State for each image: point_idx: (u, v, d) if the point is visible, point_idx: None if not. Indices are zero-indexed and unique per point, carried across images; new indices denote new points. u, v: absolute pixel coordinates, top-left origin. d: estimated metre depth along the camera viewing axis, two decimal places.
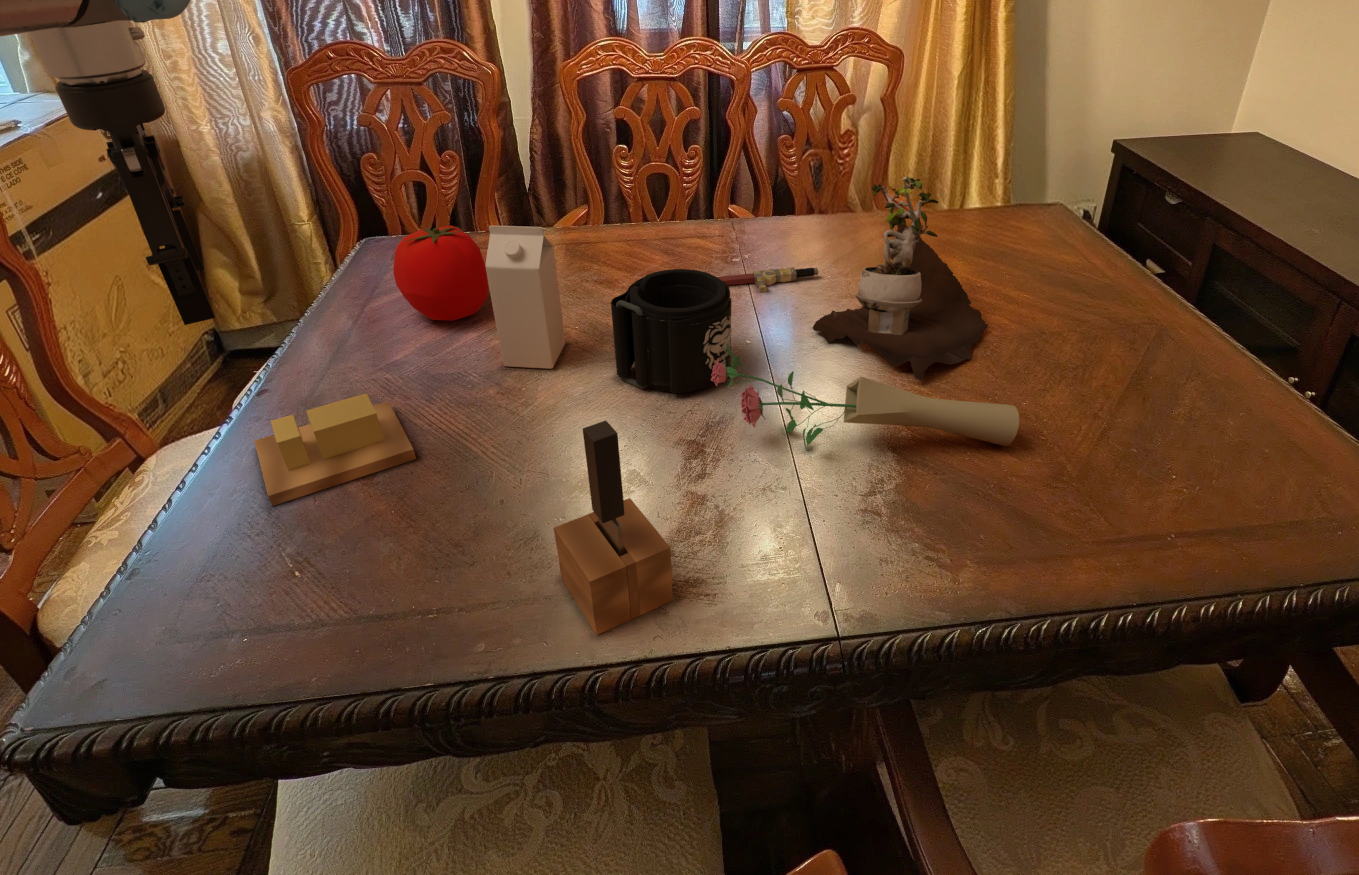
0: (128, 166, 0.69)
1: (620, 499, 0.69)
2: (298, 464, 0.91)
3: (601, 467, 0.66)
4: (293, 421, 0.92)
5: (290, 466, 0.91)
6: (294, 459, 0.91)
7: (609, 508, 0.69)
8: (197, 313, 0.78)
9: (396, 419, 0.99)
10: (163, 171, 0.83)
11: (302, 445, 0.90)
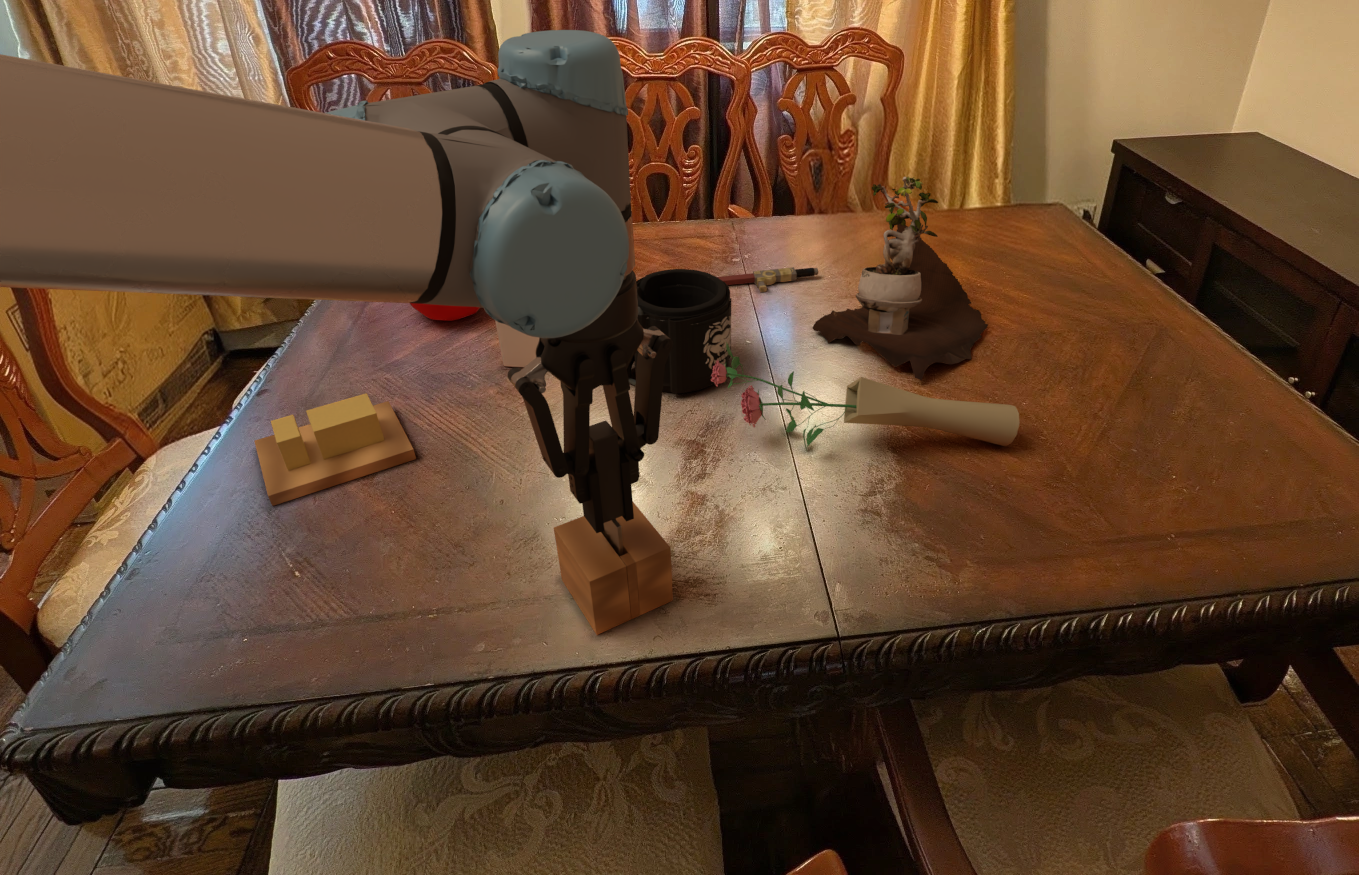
0: None
1: (620, 499, 0.69)
2: (298, 464, 0.91)
3: (601, 467, 0.66)
4: (293, 421, 0.92)
5: (290, 466, 0.91)
6: (294, 459, 0.91)
7: (609, 508, 0.69)
8: None
9: (396, 419, 0.99)
10: None
11: (302, 445, 0.90)
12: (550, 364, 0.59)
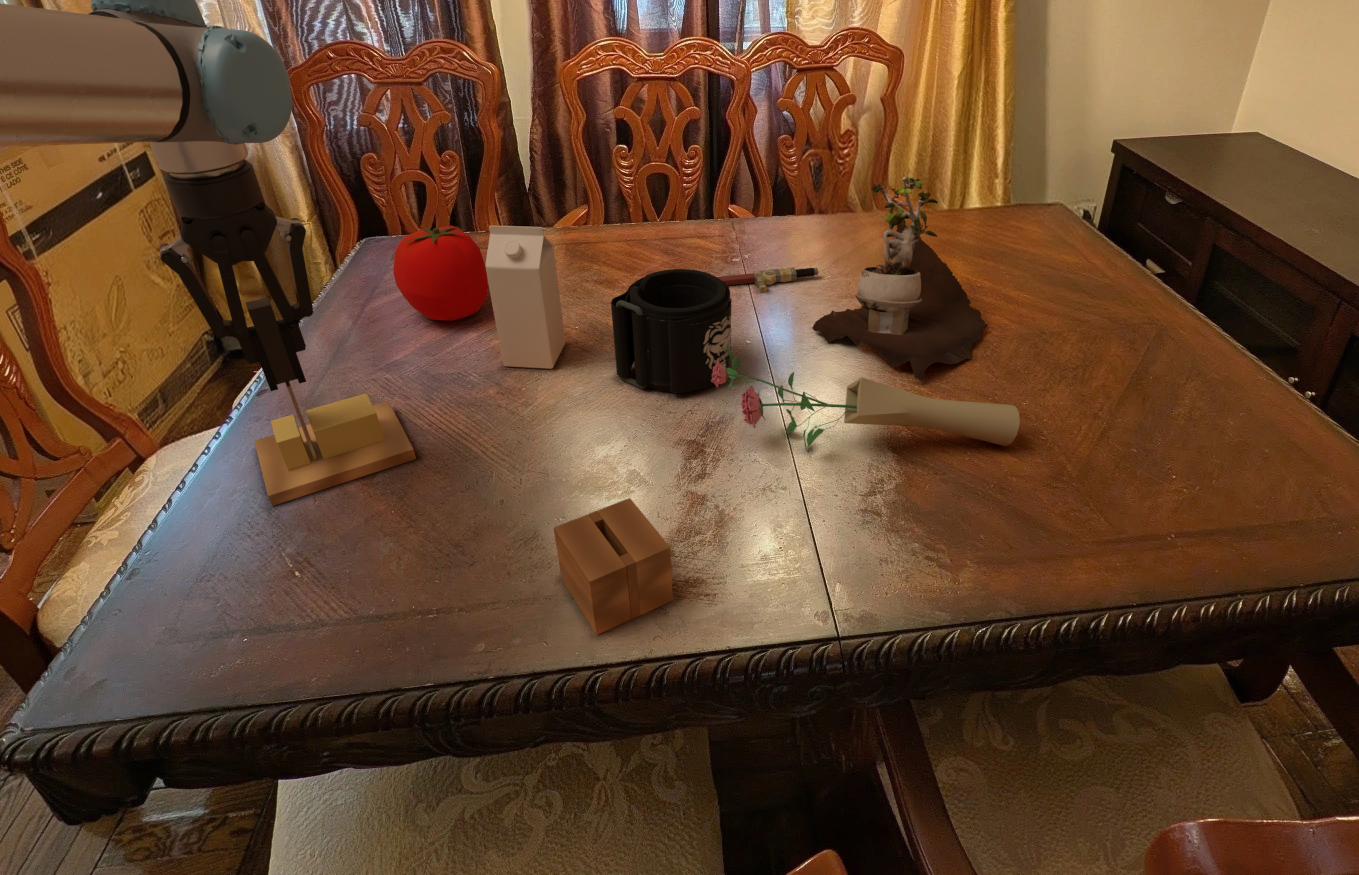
0: None
1: (289, 364, 0.86)
2: (298, 464, 0.91)
3: (262, 334, 0.83)
4: (293, 421, 0.92)
5: (290, 466, 0.91)
6: (294, 459, 0.91)
7: (279, 371, 0.86)
8: None
9: (396, 419, 0.99)
10: None
11: (302, 445, 0.90)
12: (187, 239, 0.76)
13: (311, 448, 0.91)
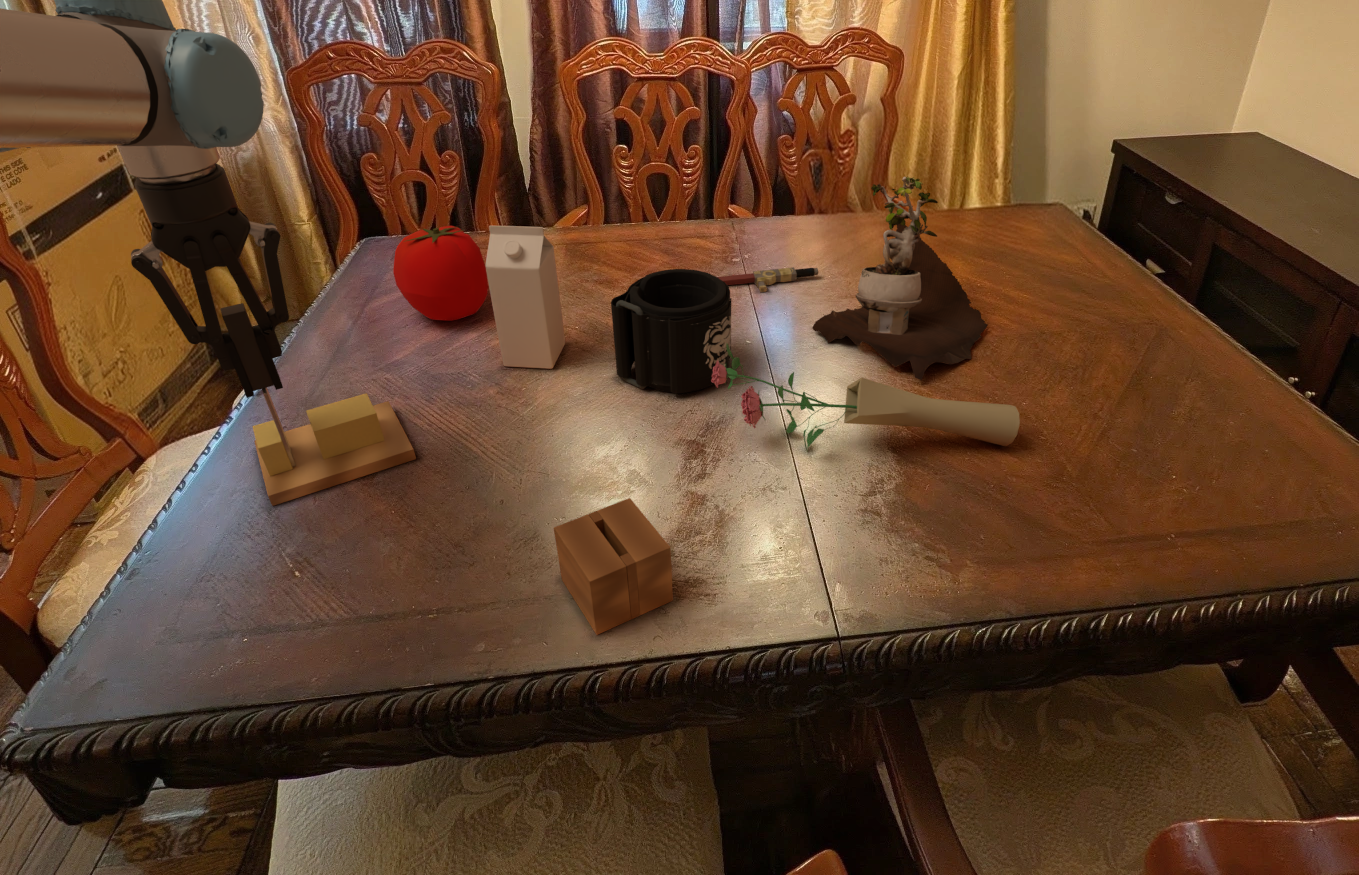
0: None
1: (265, 370, 0.85)
2: (280, 470, 0.90)
3: (237, 340, 0.82)
4: (275, 426, 0.91)
5: (272, 472, 0.90)
6: (276, 465, 0.90)
7: (256, 378, 0.85)
8: (278, 375, 0.87)
9: (396, 419, 0.99)
10: None
11: (284, 450, 0.89)
12: (158, 244, 0.75)
13: (289, 455, 0.90)
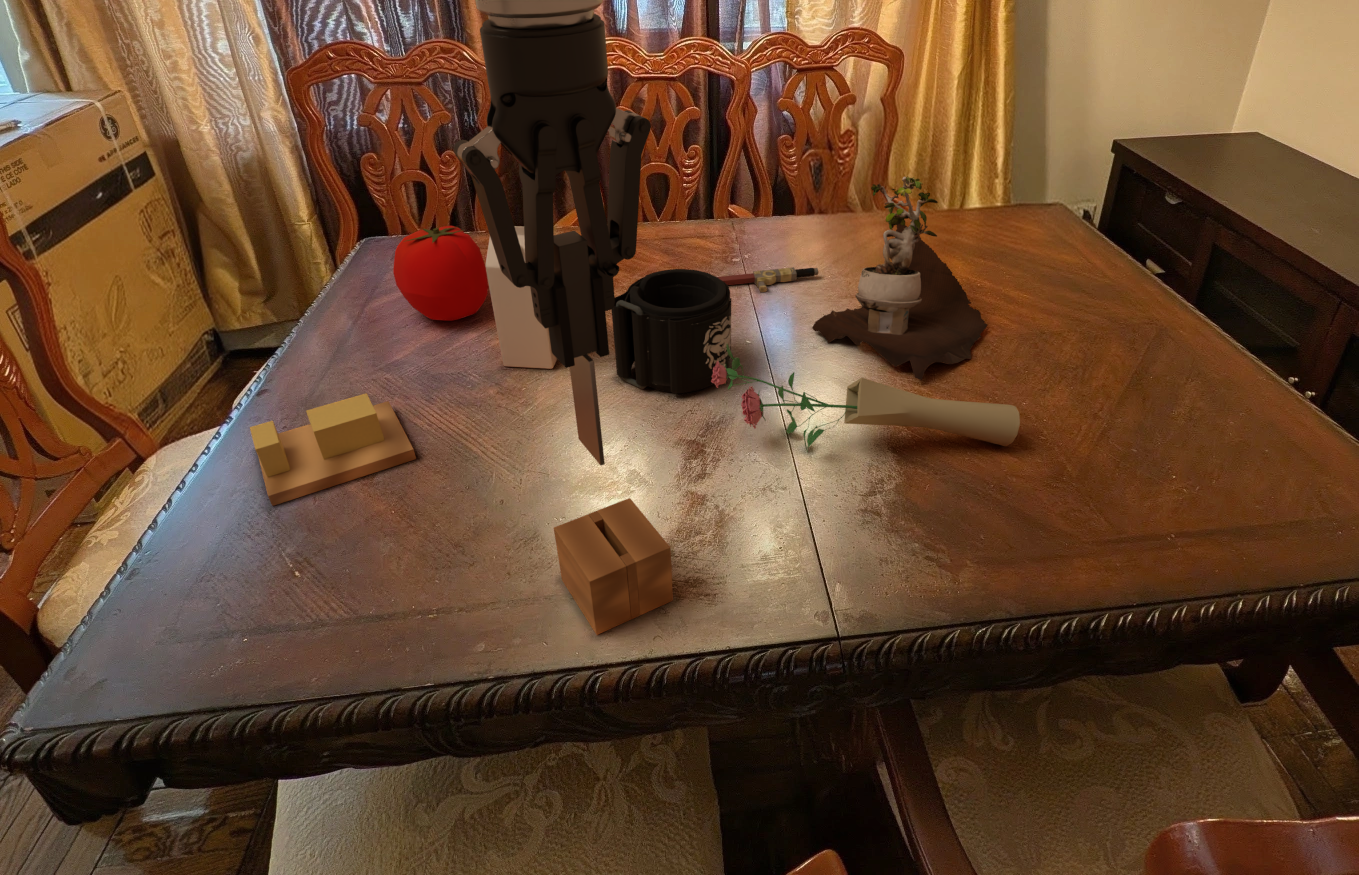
0: None
1: (592, 329, 0.60)
2: (278, 471, 0.90)
3: (569, 283, 0.57)
4: (272, 427, 0.91)
5: (269, 473, 0.90)
6: (273, 466, 0.90)
7: (580, 339, 0.60)
8: None
9: (396, 419, 0.99)
10: None
11: (281, 451, 0.89)
12: (503, 130, 0.49)
13: (600, 449, 0.65)
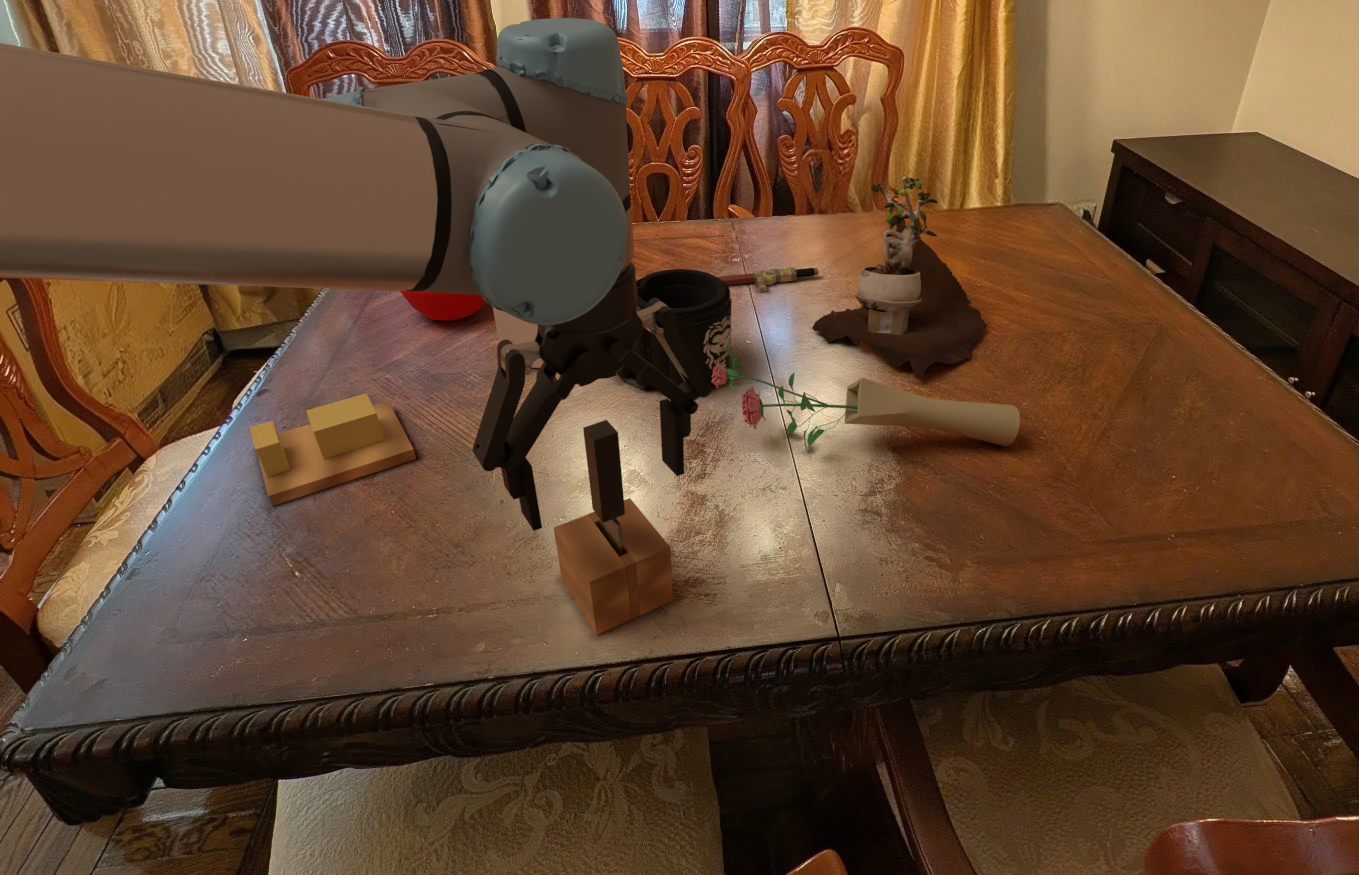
0: None
1: (621, 498, 0.70)
2: (278, 471, 0.90)
3: (602, 467, 0.67)
4: (272, 427, 0.91)
5: (269, 473, 0.90)
6: (273, 466, 0.90)
7: (609, 507, 0.69)
8: None
9: (396, 419, 0.99)
10: None
11: (281, 451, 0.89)
12: (548, 356, 0.58)
13: None
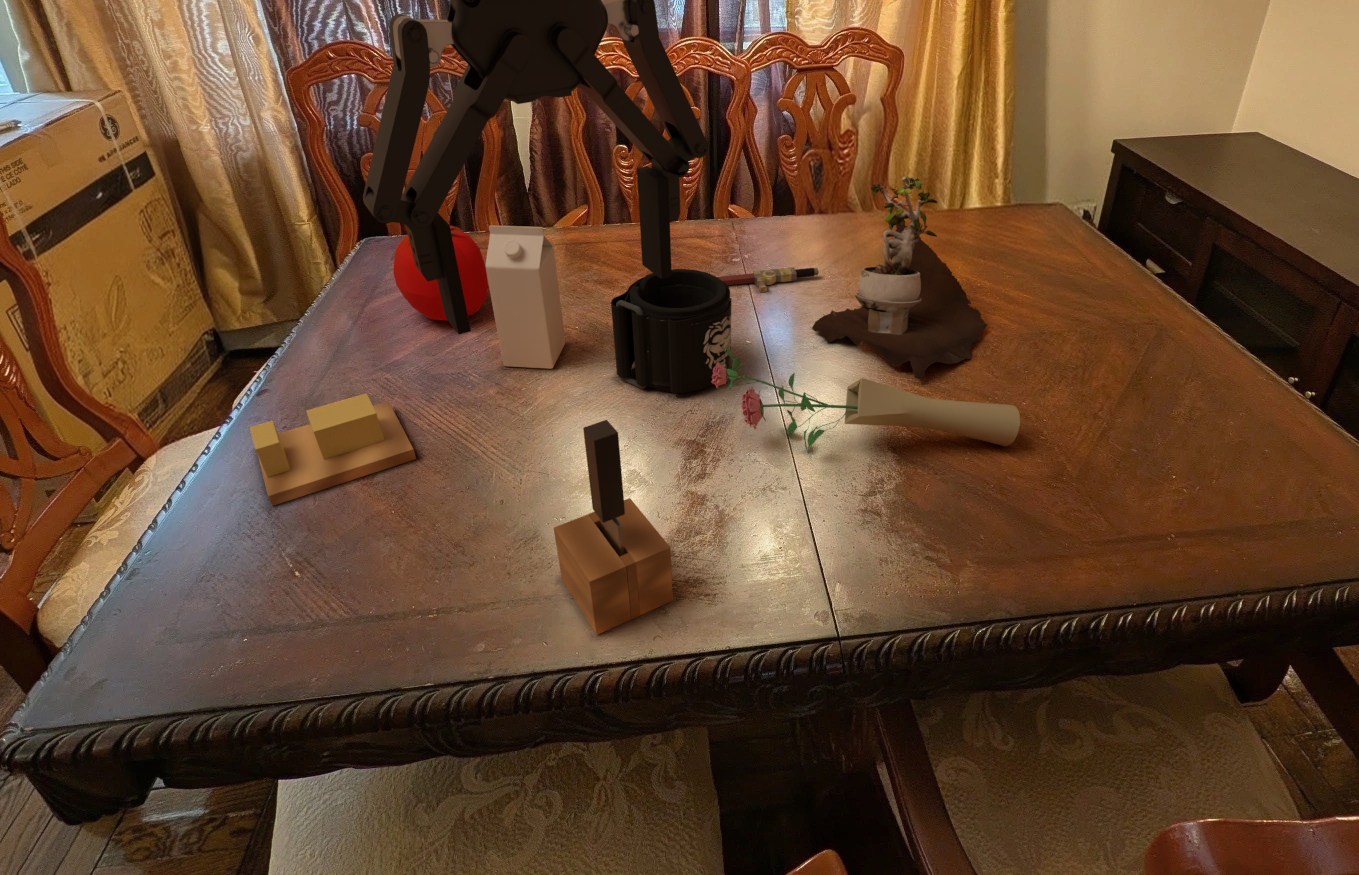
0: None
1: (621, 498, 0.70)
2: (278, 471, 0.90)
3: (602, 467, 0.67)
4: (272, 427, 0.91)
5: (269, 473, 0.90)
6: (273, 466, 0.90)
7: (609, 507, 0.69)
8: None
9: (396, 419, 0.99)
10: None
11: (281, 451, 0.89)
12: (465, 39, 0.39)
13: None
